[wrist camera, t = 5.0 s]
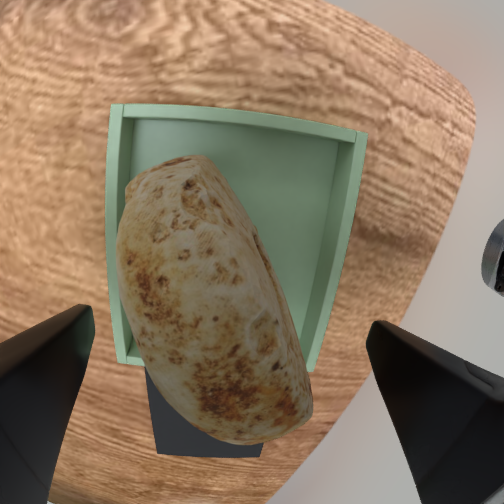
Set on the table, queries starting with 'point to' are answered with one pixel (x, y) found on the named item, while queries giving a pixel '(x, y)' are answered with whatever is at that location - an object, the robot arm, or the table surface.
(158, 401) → the mat
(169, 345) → the beige oval piece
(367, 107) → the table surface
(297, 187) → the tray
